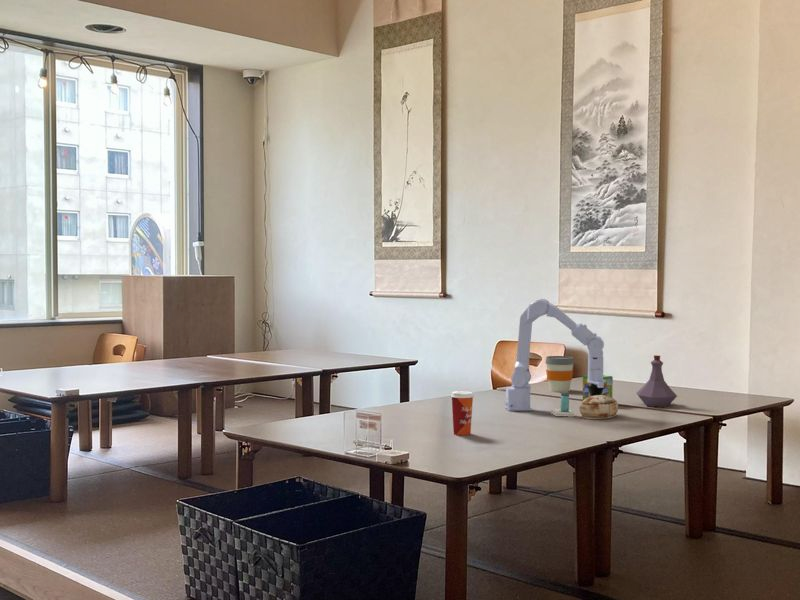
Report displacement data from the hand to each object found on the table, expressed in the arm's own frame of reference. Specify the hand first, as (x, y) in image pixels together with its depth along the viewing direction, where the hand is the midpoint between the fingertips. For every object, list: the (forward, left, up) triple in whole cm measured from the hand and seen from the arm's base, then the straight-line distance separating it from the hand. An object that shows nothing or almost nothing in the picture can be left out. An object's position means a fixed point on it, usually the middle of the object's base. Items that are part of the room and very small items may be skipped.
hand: (595, 404), depth 349 cm
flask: (+30, +18, -4) cm, 36 cm away
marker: (-12, -3, -2) cm, 13 cm away
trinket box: (-1, -8, -4) cm, 8 cm away
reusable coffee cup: (+1, +61, -4) cm, 61 cm away
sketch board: (-14, -3, -3) cm, 14 cm away
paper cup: (-57, -39, -4) cm, 69 cm away
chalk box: (+7, +22, -4) cm, 24 cm away
